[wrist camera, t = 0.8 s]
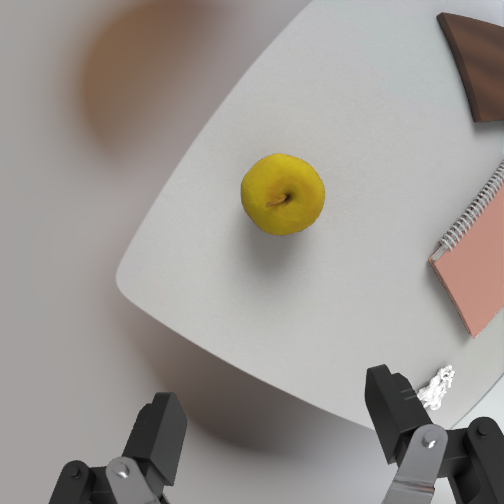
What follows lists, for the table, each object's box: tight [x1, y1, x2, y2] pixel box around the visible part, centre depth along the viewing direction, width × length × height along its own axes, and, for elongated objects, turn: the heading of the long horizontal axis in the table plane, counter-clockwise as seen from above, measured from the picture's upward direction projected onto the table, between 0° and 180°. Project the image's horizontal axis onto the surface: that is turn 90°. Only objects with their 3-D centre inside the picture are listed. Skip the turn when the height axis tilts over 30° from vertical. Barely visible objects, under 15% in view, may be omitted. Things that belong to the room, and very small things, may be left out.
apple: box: [241, 154, 325, 235], centre depth 22 cm, size 6×6×8 cm
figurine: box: [417, 365, 455, 410], centre depth 32 cm, size 3×8×8 cm
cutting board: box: [437, 12, 504, 122], centre depth 20 cm, size 14×14×2 cm
